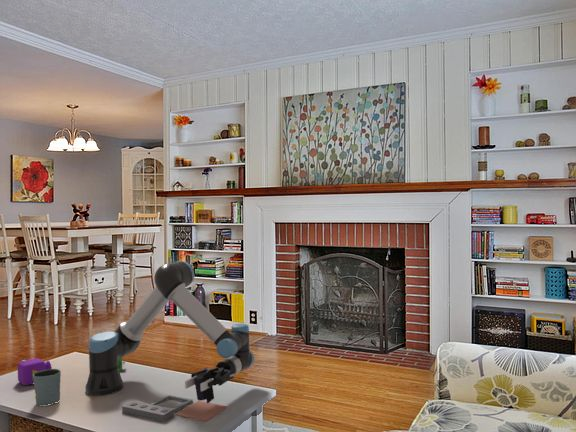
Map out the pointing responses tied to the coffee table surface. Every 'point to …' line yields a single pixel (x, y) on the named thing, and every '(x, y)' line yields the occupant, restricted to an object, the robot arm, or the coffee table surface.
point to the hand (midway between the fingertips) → (193, 386)
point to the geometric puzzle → (120, 363)
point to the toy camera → (31, 369)
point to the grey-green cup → (47, 386)
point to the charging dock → (154, 408)
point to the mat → (201, 411)
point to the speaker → (206, 393)
